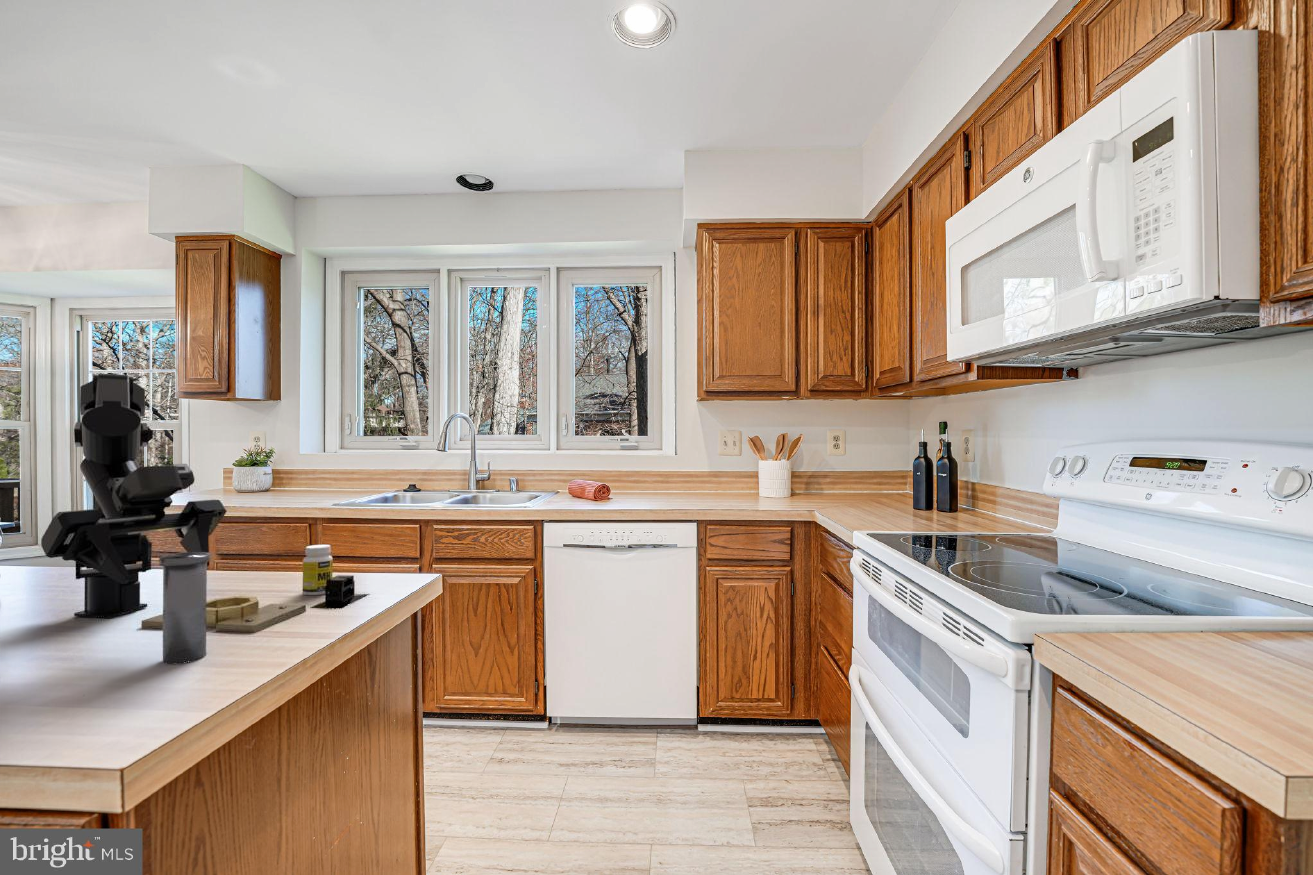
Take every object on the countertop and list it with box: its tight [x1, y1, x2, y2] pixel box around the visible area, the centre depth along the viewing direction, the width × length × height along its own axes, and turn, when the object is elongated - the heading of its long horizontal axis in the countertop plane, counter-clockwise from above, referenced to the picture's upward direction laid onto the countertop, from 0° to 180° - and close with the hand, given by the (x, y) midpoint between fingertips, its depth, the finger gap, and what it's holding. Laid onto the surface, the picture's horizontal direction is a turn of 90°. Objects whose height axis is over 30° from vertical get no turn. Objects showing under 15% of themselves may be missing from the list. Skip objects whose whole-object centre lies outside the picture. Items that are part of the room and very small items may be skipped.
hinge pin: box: [158, 552, 212, 665], centre depth 78 cm, size 5×5×13 cm
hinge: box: [140, 595, 307, 633], centre depth 95 cm, size 18×11×2 cm, turn 84°
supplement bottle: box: [302, 544, 334, 596], centre depth 112 cm, size 5×5×8 cm
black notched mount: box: [309, 574, 370, 610], centre depth 106 cm, size 12×7×5 cm, turn 178°
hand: (168, 573), depth 80 cm, fingers open, 9 cm apart
